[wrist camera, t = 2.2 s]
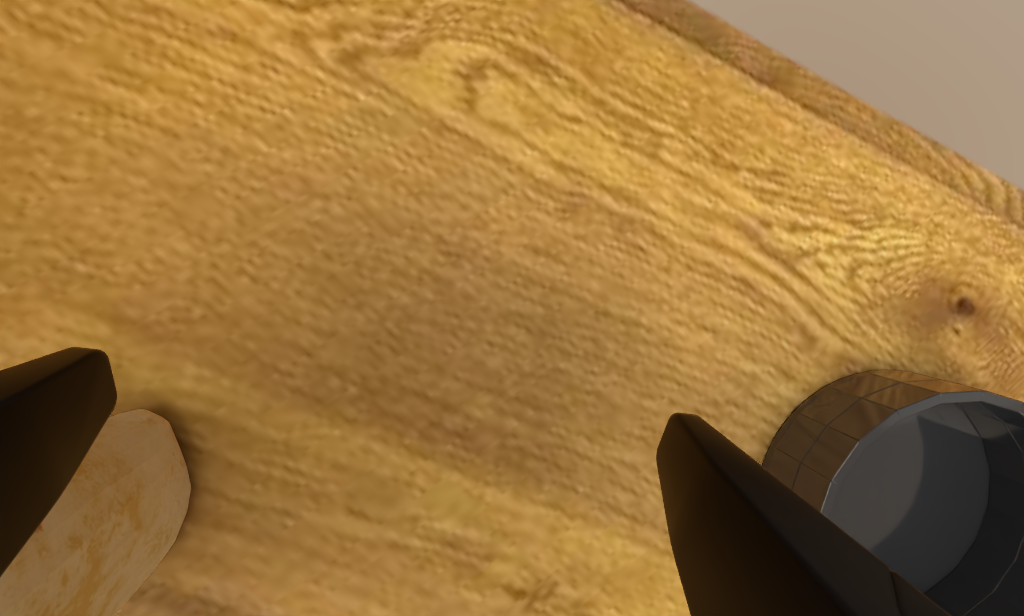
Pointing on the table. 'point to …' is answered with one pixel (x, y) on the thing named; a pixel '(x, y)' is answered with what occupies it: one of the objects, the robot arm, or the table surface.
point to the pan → (917, 481)
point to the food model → (104, 524)
